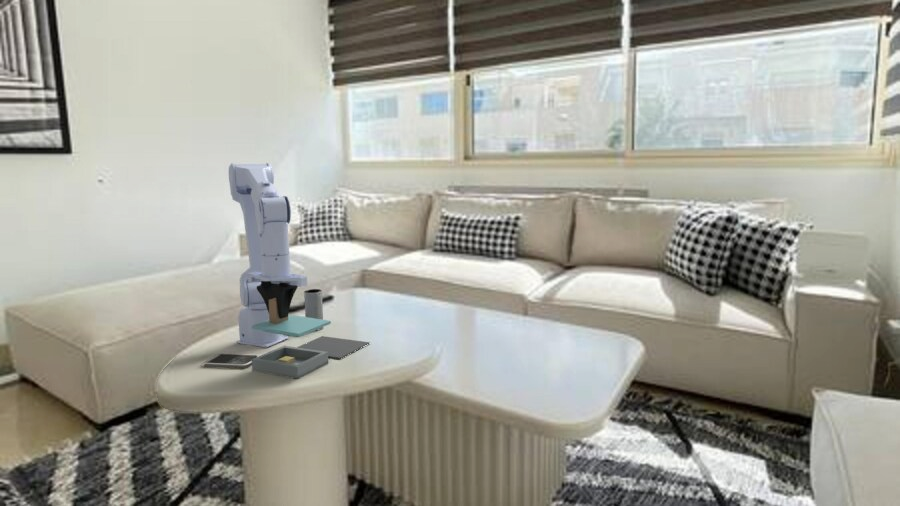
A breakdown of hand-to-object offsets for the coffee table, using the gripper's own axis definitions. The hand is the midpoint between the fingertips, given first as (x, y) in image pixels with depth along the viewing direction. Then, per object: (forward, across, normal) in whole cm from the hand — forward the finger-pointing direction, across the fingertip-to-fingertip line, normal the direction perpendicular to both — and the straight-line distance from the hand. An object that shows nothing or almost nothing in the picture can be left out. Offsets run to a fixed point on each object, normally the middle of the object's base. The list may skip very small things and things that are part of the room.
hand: (278, 316), depth 118 cm
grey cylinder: (+11, -11, +25) cm, 29 cm away
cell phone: (+11, -10, -4) cm, 16 cm away
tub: (+10, +4, -1) cm, 11 cm away
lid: (+2, +3, 0) cm, 4 cm away
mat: (+10, +4, +13) cm, 17 cm away
